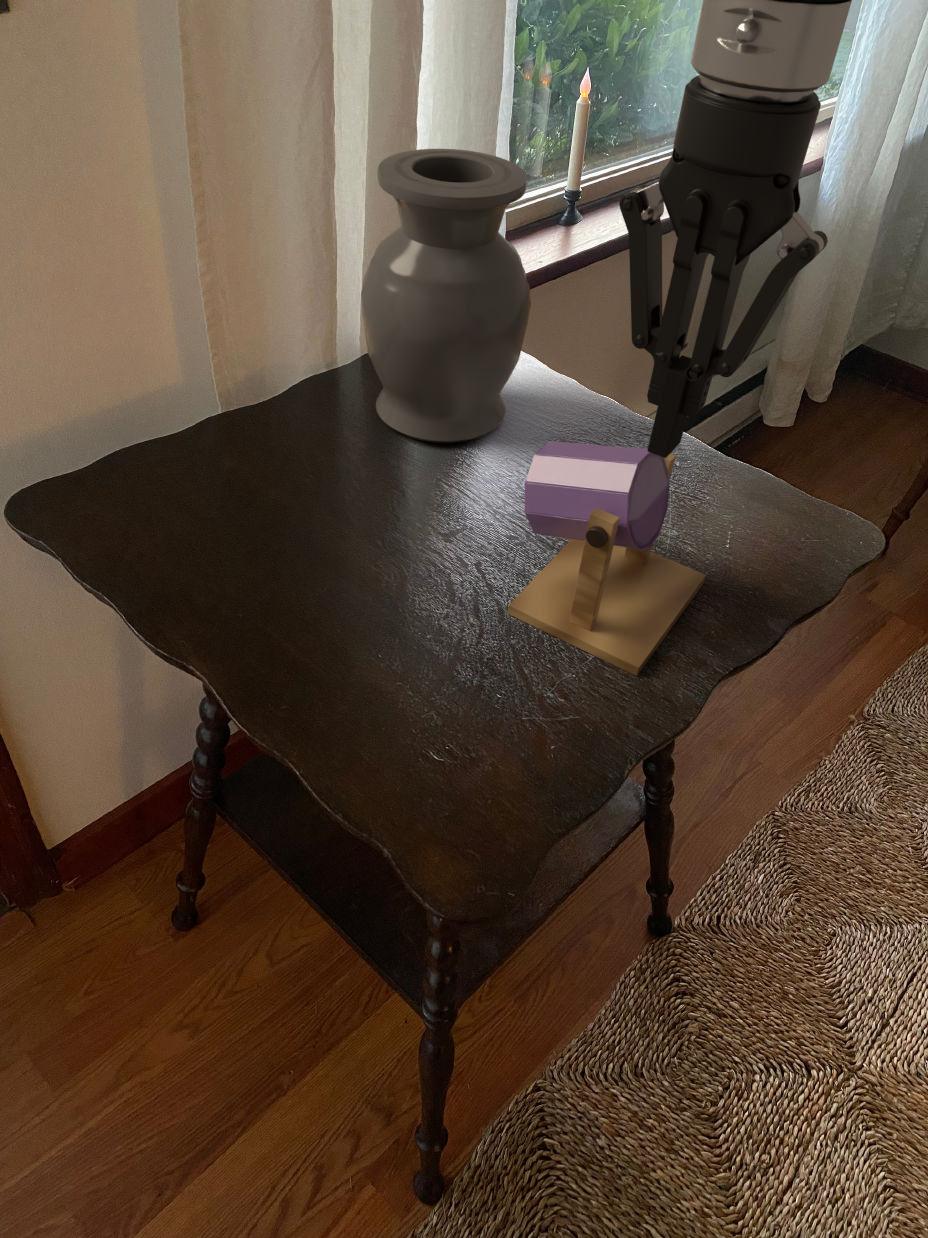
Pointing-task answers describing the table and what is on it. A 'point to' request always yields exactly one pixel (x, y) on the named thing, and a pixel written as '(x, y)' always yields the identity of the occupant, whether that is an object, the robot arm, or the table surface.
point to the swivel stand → (609, 595)
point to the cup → (597, 491)
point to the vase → (446, 295)
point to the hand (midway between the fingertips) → (664, 446)
